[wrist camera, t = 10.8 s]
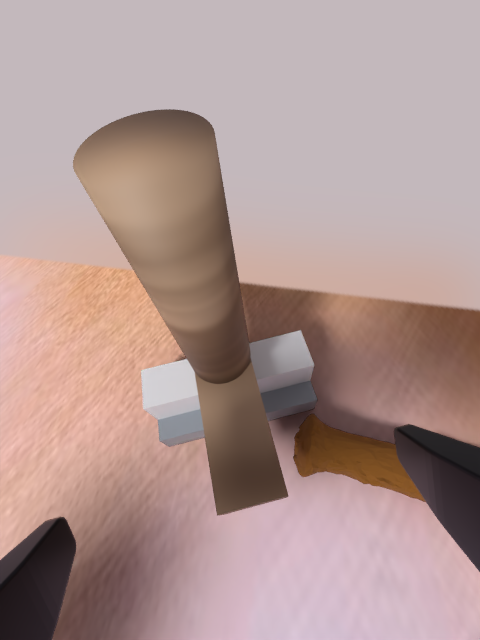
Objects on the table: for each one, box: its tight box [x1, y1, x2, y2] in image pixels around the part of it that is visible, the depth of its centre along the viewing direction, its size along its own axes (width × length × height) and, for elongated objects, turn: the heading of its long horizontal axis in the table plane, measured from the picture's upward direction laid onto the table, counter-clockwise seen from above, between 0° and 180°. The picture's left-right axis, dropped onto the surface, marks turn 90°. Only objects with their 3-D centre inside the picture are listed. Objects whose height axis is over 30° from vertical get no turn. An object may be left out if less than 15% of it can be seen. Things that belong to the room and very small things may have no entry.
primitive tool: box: [293, 414, 426, 502], centre depth 16 cm, size 19×6×4 cm, turn 78°
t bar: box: [73, 110, 288, 515], centre depth 12 cm, size 14×3×13 cm, turn 13°
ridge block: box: [141, 330, 317, 447], centre depth 20 cm, size 10×5×4 cm, turn 103°
